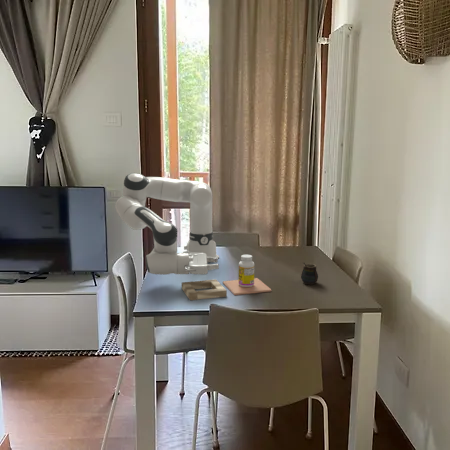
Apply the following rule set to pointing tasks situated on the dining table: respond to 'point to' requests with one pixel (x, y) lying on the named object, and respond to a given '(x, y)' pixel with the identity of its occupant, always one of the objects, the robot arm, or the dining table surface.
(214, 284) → the frame
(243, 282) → the supplement bottle
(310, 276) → the mate gourd
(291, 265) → the dining table surface
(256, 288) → the terracotta tile
